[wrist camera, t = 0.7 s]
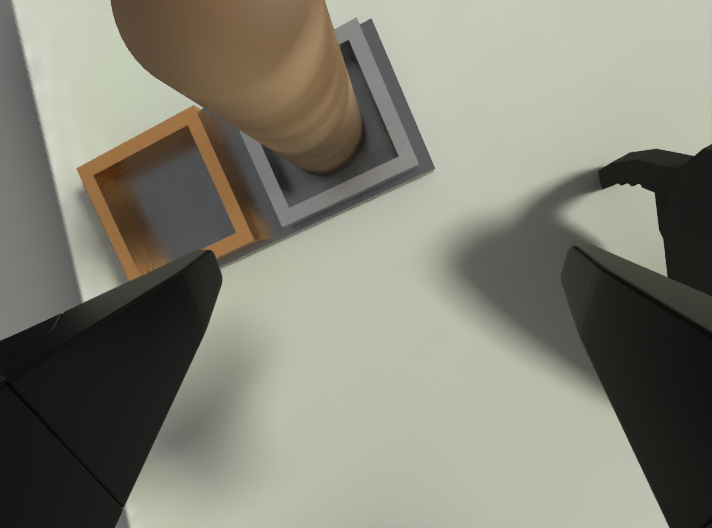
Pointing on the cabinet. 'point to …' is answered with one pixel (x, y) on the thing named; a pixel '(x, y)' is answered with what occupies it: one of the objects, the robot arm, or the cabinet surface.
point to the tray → (248, 174)
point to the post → (254, 71)
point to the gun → (675, 207)
